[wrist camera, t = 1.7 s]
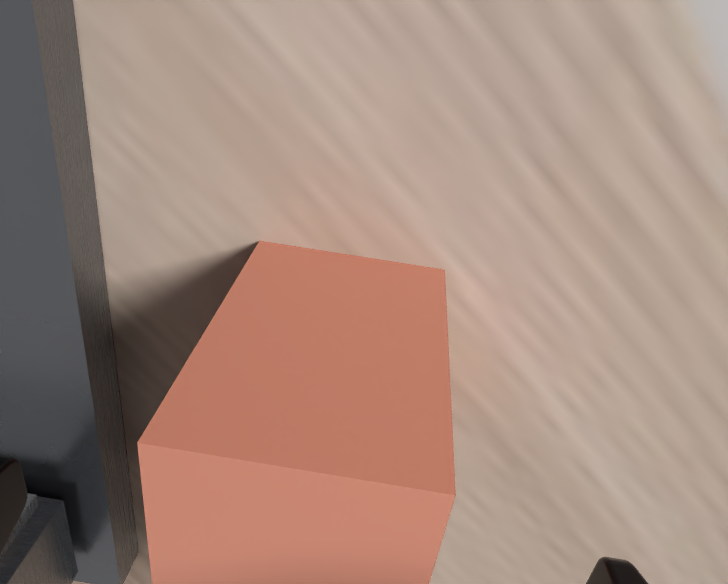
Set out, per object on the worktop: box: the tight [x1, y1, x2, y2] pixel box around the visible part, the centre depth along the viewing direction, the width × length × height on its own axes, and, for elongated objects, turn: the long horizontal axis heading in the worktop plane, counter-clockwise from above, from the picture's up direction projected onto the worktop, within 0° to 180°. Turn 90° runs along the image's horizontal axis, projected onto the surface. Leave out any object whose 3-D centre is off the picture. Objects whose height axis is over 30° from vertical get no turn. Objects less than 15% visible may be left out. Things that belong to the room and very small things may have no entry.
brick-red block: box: [137, 241, 456, 584], centre depth 11 cm, size 4×4×6 cm
